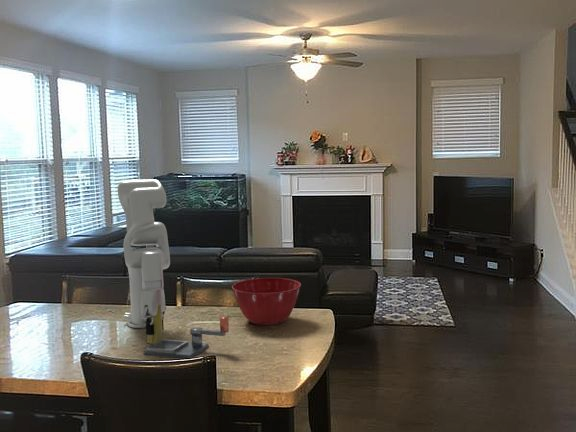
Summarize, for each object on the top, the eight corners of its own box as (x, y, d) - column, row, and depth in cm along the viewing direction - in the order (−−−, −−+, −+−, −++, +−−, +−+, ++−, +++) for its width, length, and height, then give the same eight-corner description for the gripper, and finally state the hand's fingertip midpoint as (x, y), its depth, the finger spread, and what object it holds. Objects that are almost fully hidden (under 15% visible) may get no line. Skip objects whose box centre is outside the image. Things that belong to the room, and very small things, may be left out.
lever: (188, 334, 214) (187, 316, 213) (194, 331, 218) (193, 313, 217) (225, 337, 209) (225, 319, 208) (231, 334, 213) (230, 316, 212)
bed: (143, 354, 210) (143, 339, 210) (164, 342, 223) (164, 328, 223) (189, 358, 204) (189, 343, 204) (208, 346, 217) (208, 332, 217)
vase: (148, 339, 227) (146, 302, 226) (164, 339, 228) (163, 302, 226) (145, 344, 221) (144, 306, 220) (162, 343, 222) (161, 305, 220)
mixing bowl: (296, 331, 234) (295, 292, 233) (225, 329, 239) (223, 291, 237) (305, 313, 262) (305, 278, 260) (242, 311, 266) (241, 277, 265)
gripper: (156, 279, 232) (158, 325, 233) (130, 288, 216) (133, 338, 217) (173, 280, 229) (175, 326, 231) (149, 289, 213) (151, 339, 215)
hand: (155, 331), depth 224 cm, fingers closed on vase, 5 cm apart
